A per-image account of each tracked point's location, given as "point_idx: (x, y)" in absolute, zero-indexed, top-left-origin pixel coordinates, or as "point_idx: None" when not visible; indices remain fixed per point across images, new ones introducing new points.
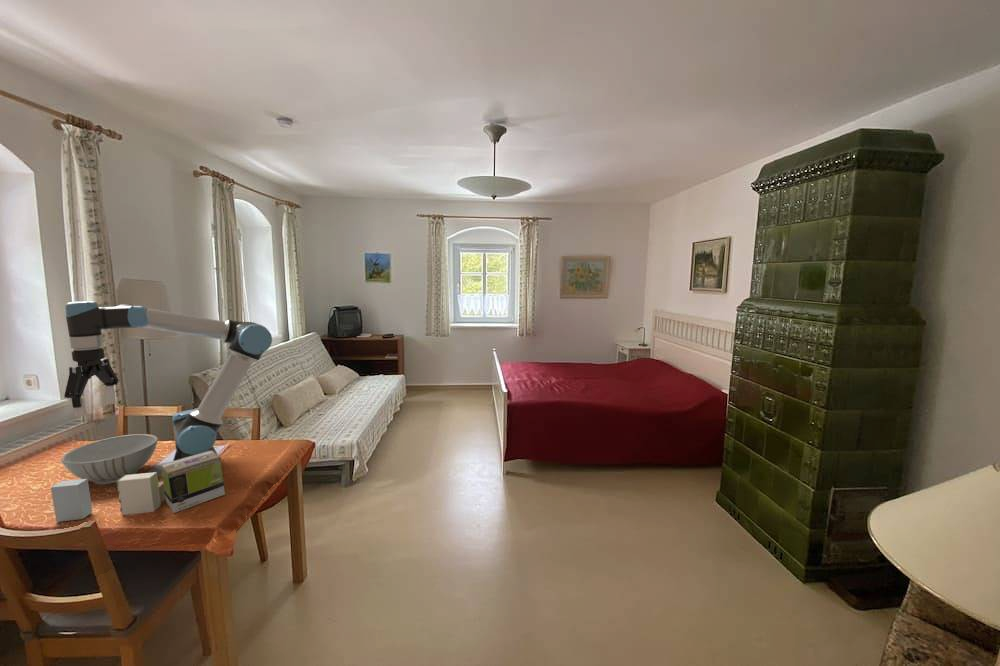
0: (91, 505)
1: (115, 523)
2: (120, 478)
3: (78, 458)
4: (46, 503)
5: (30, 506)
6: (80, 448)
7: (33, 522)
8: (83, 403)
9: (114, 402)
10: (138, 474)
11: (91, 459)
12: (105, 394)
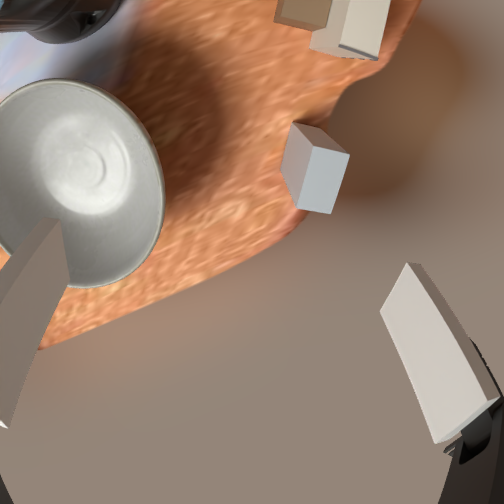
0: (294, 125)
1: (370, 61)
2: (366, 53)
3: (68, 261)
4: (195, 235)
5: (199, 255)
6: None
7: (281, 216)
8: (471, 344)
9: (53, 225)
10: (352, 12)
11: None
12: (32, 341)
